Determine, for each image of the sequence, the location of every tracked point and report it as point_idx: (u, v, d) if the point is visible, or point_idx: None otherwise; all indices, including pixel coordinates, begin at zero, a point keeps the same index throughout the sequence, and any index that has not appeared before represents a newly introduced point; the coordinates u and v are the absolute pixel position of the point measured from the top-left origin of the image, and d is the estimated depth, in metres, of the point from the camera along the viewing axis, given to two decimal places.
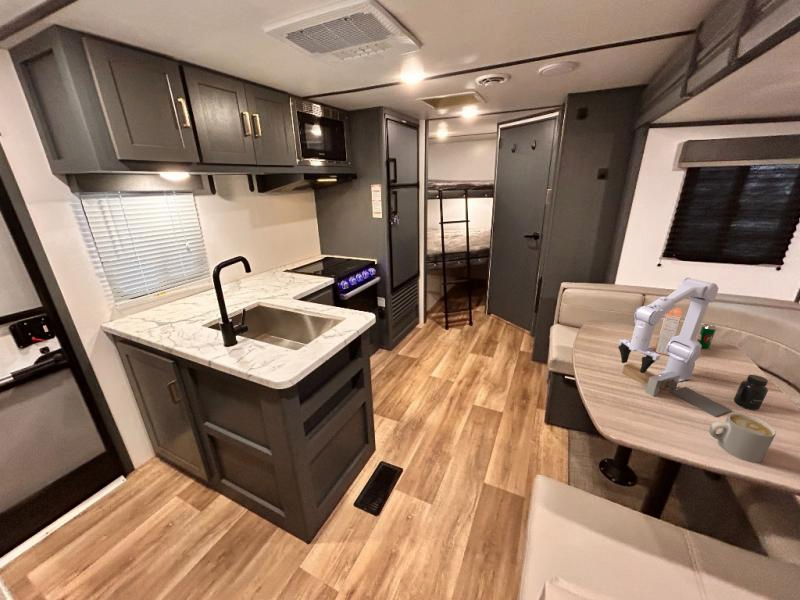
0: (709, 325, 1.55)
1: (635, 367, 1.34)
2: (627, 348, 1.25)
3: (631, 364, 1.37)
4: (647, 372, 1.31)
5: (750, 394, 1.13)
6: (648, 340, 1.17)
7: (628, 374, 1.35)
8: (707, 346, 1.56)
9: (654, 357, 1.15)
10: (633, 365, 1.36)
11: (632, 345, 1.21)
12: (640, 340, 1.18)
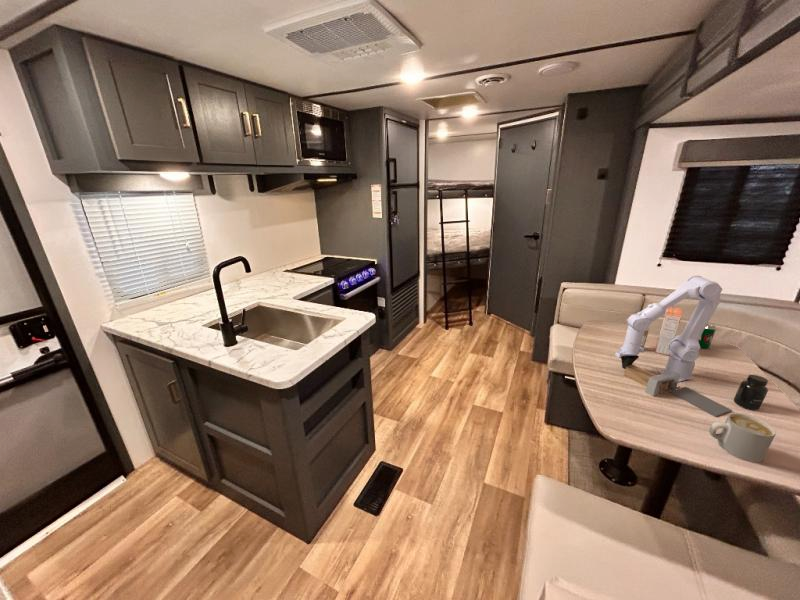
0: (709, 325, 1.55)
1: (637, 369, 1.33)
2: None
3: (632, 366, 1.35)
4: (650, 373, 1.30)
5: (750, 394, 1.13)
6: (627, 342, 1.34)
7: (630, 376, 1.34)
8: (707, 346, 1.56)
9: None
10: (634, 366, 1.35)
11: None
12: None
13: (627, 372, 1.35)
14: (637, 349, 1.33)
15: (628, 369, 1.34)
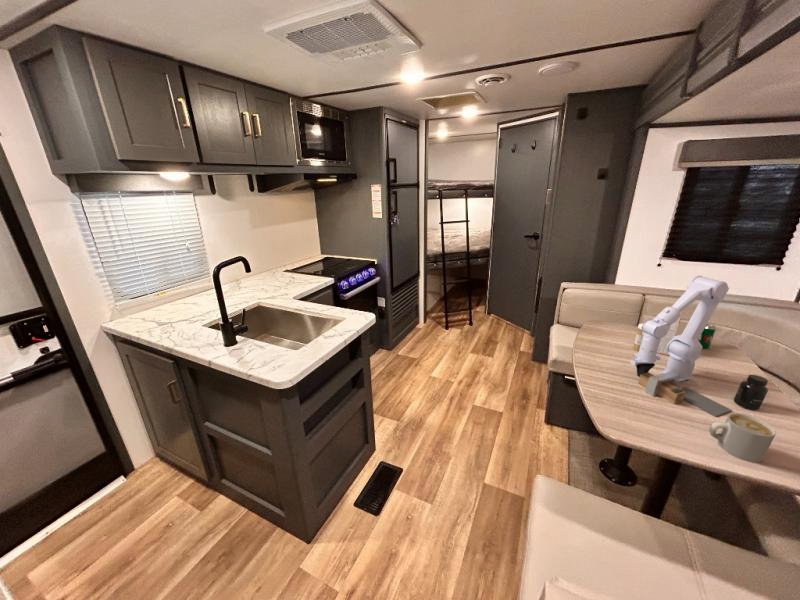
0: (709, 325, 1.55)
1: None
2: None
3: (648, 374, 1.29)
4: (665, 383, 1.23)
5: (750, 394, 1.13)
6: (642, 349, 1.28)
7: (644, 384, 1.28)
8: (707, 346, 1.56)
9: None
10: (650, 374, 1.29)
11: None
12: (640, 347, 1.30)
13: (641, 380, 1.29)
14: (654, 357, 1.27)
15: (642, 377, 1.29)
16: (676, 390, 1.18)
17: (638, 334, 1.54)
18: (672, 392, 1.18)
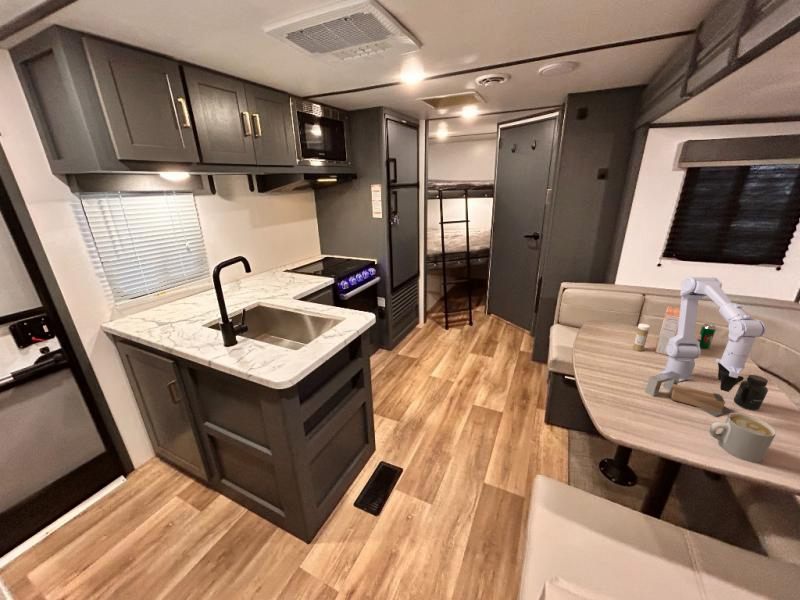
0: (709, 325, 1.55)
1: (685, 389, 1.18)
2: None
3: (677, 386, 1.20)
4: (699, 391, 1.17)
5: (750, 394, 1.13)
6: (736, 355, 1.05)
7: (681, 399, 1.18)
8: (707, 346, 1.56)
9: (730, 372, 1.05)
10: (678, 386, 1.20)
11: (721, 358, 1.11)
12: (726, 352, 1.08)
13: (676, 395, 1.18)
14: None
15: (678, 392, 1.18)
16: (718, 397, 1.13)
17: (638, 334, 1.54)
18: (719, 401, 1.12)
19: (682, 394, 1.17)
